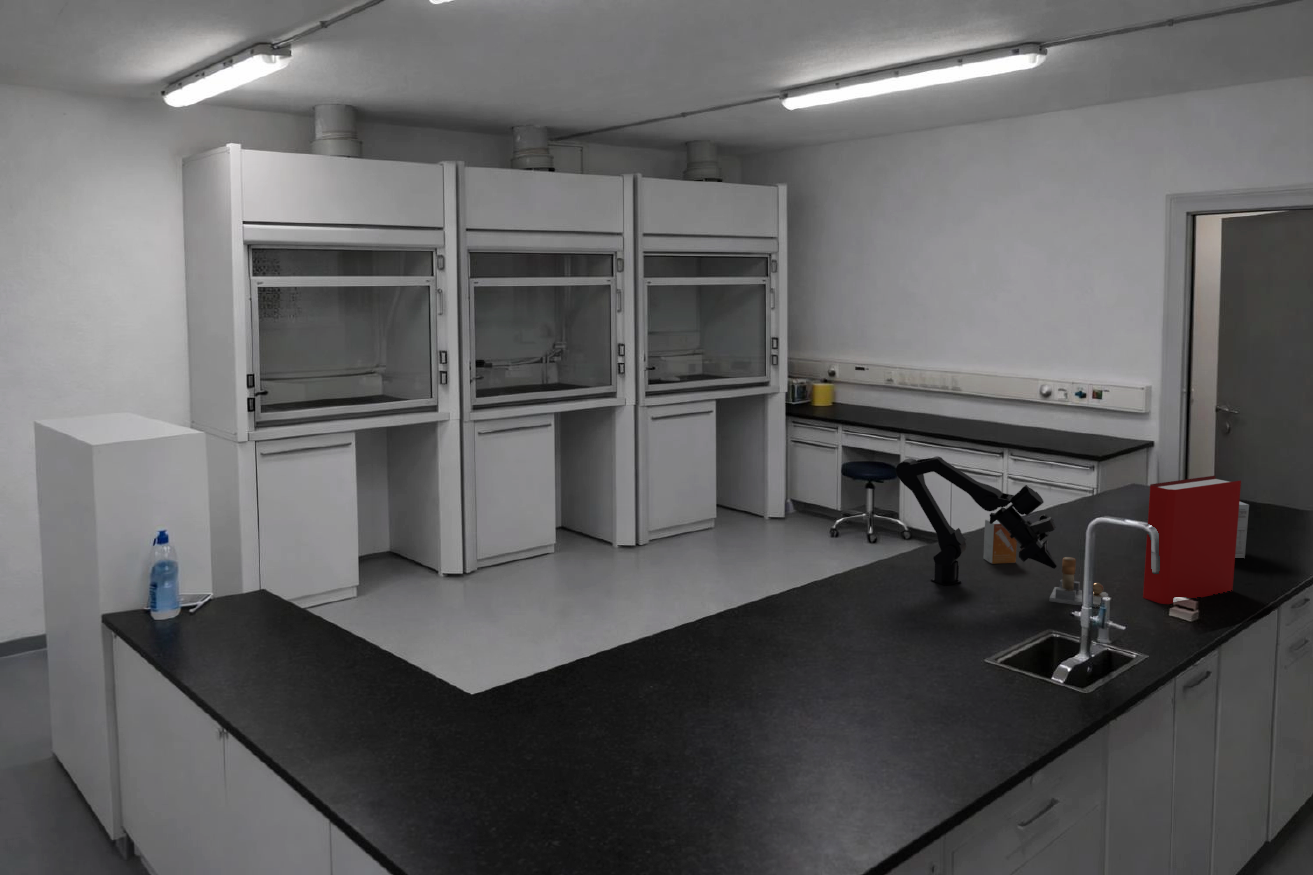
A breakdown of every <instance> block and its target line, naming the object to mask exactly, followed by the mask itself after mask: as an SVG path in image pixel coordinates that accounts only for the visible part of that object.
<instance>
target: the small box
mask: <svg viewBox="0 0 1313 875" xmlns="http://www.w3.org/2000/svg"><path fill="white" fill-rule="evenodd" d="M1010 535H1011V534H1010V533H1009V532H1008V531H1007V530H1006V529H1005V528H1004V527H1003V526H1002V525H1001V524H1000V523H999V522H998V521H997V520H996V521H995V522H993V523H992V524H990V518H989V519H985V520H984V537H983V538H984V539H983V560H985V561H986V562H988V563H990V564H994V565H995V564H1016V563H1017V546H1018V542H1017V541H1016V540H1015V539H1014V538H1011V537H1010Z"/></svg>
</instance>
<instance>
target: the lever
mask: <svg viewBox="0 0 1313 875" xmlns="http://www.w3.org/2000/svg"><path fill="white" fill-rule="evenodd" d="M1076 562H1077V560H1076V558H1074V557H1069V556H1065V557H1063V558H1062V564H1061V573H1062V576H1061V577H1062V579H1061V580H1062V588H1064V589H1069V590H1071V589H1073V588H1074V581H1075V574H1076V564H1077V563H1076Z"/></svg>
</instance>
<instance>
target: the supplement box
mask: <svg viewBox="0 0 1313 875" xmlns="http://www.w3.org/2000/svg"><path fill="white" fill-rule="evenodd" d="M1249 510H1250V504H1248V503H1245V502H1242V501H1241V500H1240V501H1239V514H1238V527H1237V539H1236V552H1235V558H1244V559H1245V558H1246V557H1245V556H1246V546H1247V545H1246V544H1247V536H1248V534H1247V532H1248V522H1249V521H1248V520H1249Z"/></svg>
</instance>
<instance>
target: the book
mask: <svg viewBox="0 0 1313 875" xmlns="http://www.w3.org/2000/svg"><path fill="white" fill-rule="evenodd" d="M1241 484H1242V480H1234V481H1228V480H1223V479H1219V478H1217V477H1216V475H1209V476H1208V475H1207V476H1201V477H1195V478H1187V479H1181V480H1173V481H1164V482H1156V483H1151V484H1149V497H1148V498H1149V500H1148V513H1147V514H1148V516H1147V525H1148V524H1150V525H1152V526H1153V527H1155V528H1156V529H1157V531H1158V533H1159V556H1160V571H1159V574H1153V573H1152V569H1151V540H1150V537H1149V535H1148V534H1147V533H1146V544H1145V545H1146V546H1145V558H1144V559H1145V561H1144V575H1143V578H1144V579H1143V593H1142V594H1143V595H1142V598H1143V599H1145V600H1148V601H1152V602H1155V603H1157V604H1159V605H1161V604H1163V605H1171V604H1174V603H1173V598H1174V597H1187V598H1196V599H1198V598H1197V597H1201V598H1204V597H1208V596H1209V597H1211V596H1214V595H1213V594H1215V595H1219V594H1218V593H1220V594H1224V593H1223V592H1225V593H1228V592H1227V591H1230V592H1232V591H1233V588H1234V587H1233V586H1234V575H1235V574H1234V573H1235V566H1236V565H1235V564H1236V563H1235V562H1236V559H1235V552H1236V539H1237V527H1238V514H1239V501H1240V502H1241V488H1242V485H1241ZM1231 590H1232V591H1231Z"/></svg>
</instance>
